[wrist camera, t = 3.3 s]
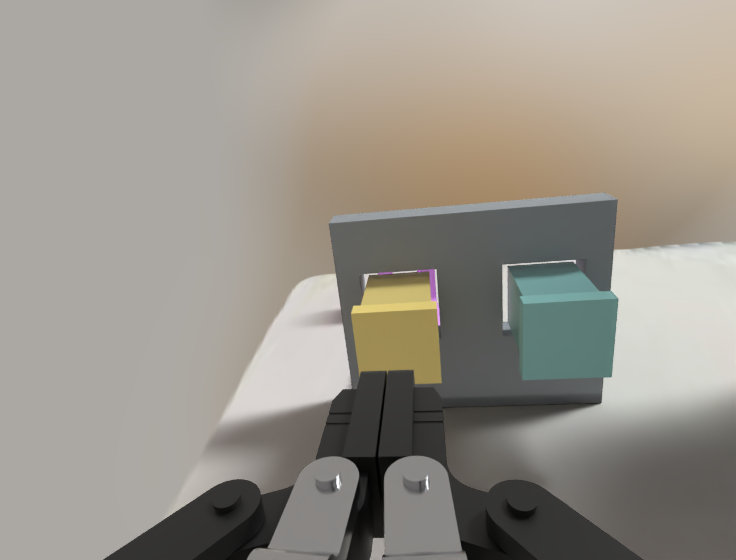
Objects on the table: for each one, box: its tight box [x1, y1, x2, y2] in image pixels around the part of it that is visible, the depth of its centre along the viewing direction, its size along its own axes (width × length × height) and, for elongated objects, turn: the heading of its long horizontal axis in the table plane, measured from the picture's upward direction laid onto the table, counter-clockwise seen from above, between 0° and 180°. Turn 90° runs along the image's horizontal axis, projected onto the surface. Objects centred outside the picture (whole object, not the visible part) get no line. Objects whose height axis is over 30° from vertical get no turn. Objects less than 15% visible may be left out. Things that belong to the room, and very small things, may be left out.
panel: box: [329, 193, 618, 407], centre depth 33 cm, size 17×5×14 cm, turn 84°
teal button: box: [508, 262, 618, 380], centre depth 28 cm, size 5×6×5 cm
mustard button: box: [351, 271, 442, 384], centre depth 29 cm, size 5×6×5 cm
